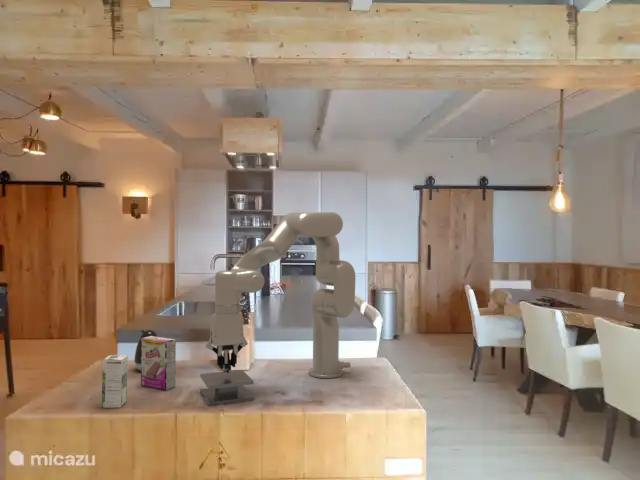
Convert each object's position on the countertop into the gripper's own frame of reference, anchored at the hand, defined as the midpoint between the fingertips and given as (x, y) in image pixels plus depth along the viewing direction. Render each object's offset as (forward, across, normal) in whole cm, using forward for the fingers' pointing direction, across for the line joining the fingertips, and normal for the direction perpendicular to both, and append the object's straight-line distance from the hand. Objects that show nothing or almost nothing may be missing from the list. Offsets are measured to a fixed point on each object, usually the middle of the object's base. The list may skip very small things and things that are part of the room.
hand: (226, 366), depth 166 cm
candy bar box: (+10, +19, -18) cm, 28 cm away
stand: (+10, 0, 0) cm, 10 cm away
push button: (+2, 0, 0) cm, 2 cm away
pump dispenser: (+10, +20, -41) cm, 47 cm away
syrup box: (+10, +33, -4) cm, 35 cm away
